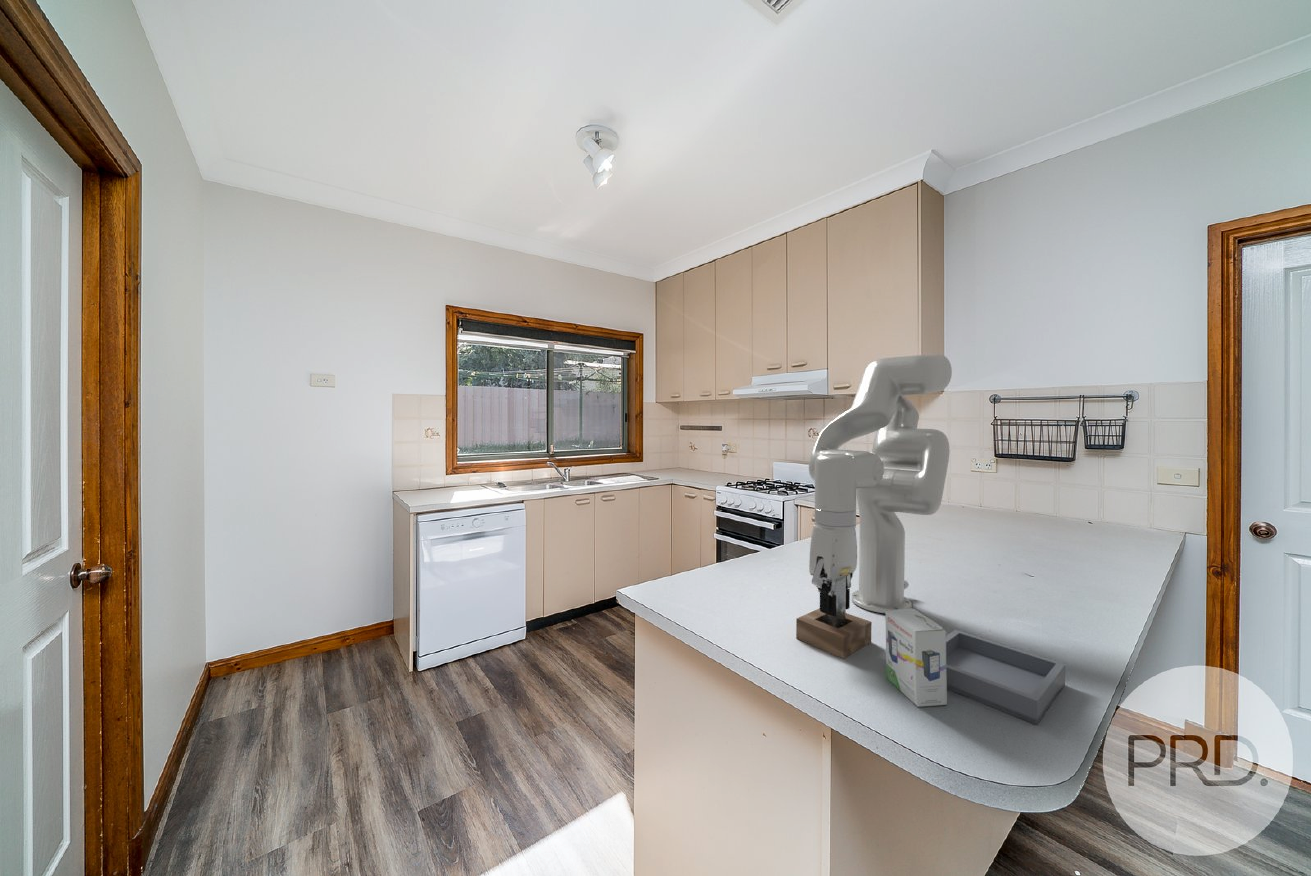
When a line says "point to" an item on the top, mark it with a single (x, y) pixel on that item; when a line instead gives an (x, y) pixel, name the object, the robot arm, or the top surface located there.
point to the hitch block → (834, 633)
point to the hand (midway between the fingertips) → (834, 609)
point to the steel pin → (839, 601)
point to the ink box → (916, 656)
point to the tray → (1002, 676)
